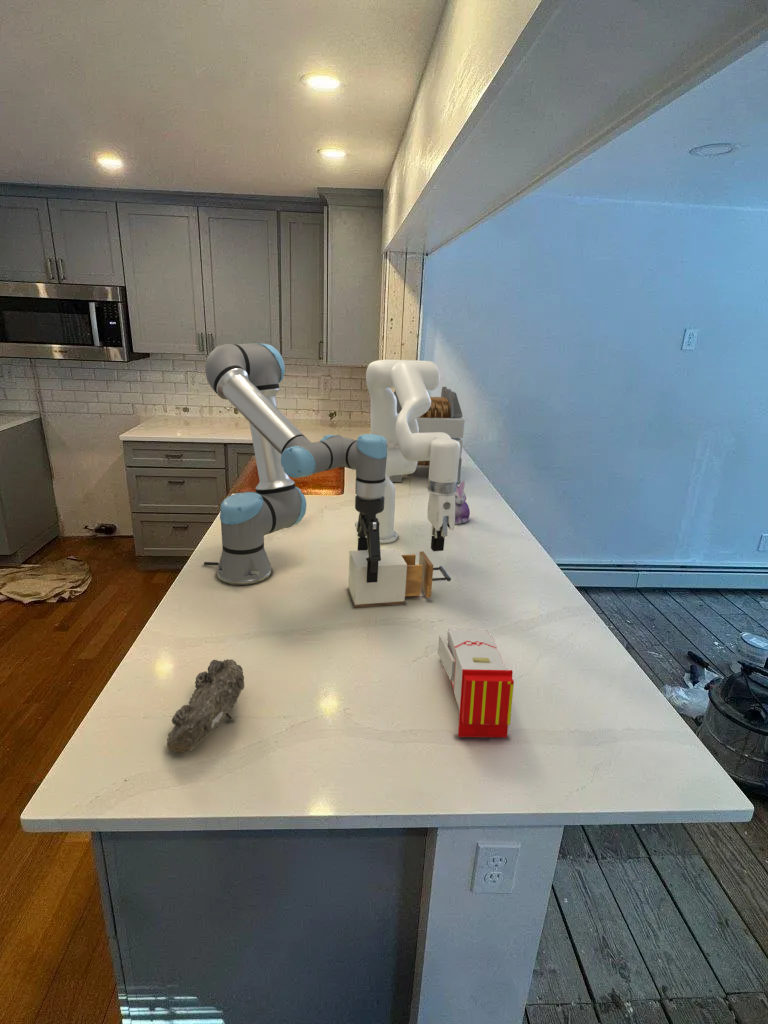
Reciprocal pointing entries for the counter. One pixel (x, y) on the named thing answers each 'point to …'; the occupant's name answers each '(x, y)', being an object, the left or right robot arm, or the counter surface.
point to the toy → (478, 682)
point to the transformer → (439, 423)
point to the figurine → (461, 505)
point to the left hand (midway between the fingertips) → (366, 570)
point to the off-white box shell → (388, 583)
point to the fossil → (206, 705)
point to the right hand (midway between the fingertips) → (437, 549)
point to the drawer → (421, 575)
